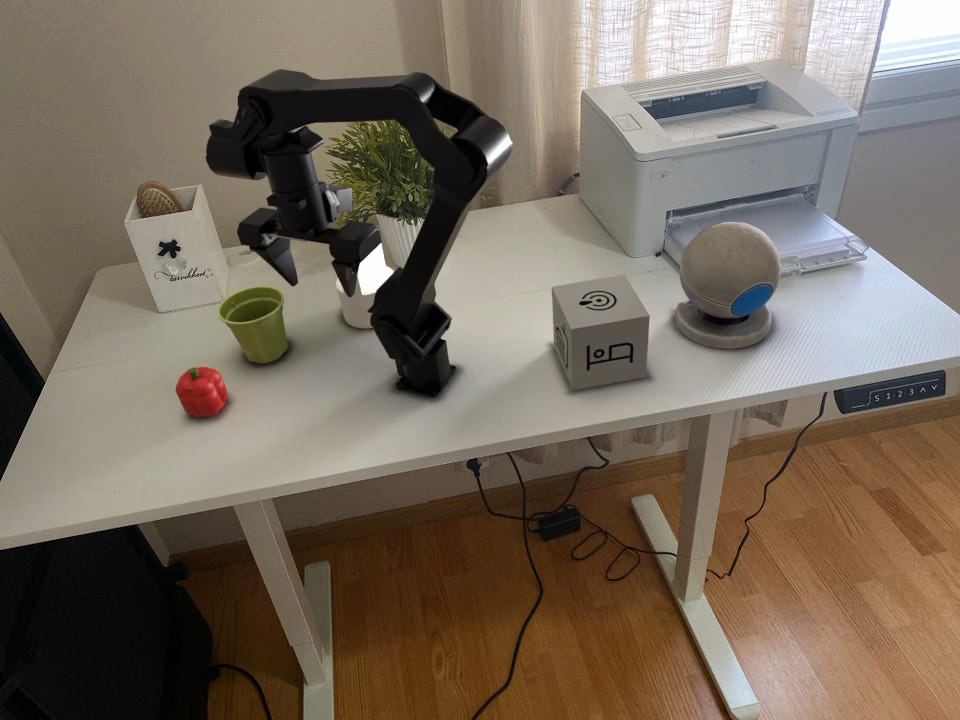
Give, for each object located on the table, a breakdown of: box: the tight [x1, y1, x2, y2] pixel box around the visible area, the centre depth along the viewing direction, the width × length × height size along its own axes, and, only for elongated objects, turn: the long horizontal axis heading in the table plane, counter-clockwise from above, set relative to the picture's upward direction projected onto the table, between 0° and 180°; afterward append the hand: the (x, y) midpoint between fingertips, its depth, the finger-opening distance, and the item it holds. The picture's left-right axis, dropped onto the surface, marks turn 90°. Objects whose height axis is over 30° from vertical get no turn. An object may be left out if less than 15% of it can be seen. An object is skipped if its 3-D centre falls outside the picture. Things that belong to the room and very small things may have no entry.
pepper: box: [175, 366, 229, 418], centre depth 98 cm, size 6×6×7 cm
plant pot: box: [216, 285, 289, 364], centre depth 107 cm, size 9×9×9 cm
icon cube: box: [551, 274, 651, 391], centre depth 98 cm, size 10×10×10 cm
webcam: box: [674, 221, 782, 349], centre depth 100 cm, size 13×13×15 cm
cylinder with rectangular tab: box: [335, 243, 395, 329], centre depth 112 cm, size 9×9×12 cm
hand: (322, 290), depth 99 cm, fingers open, 9 cm apart
